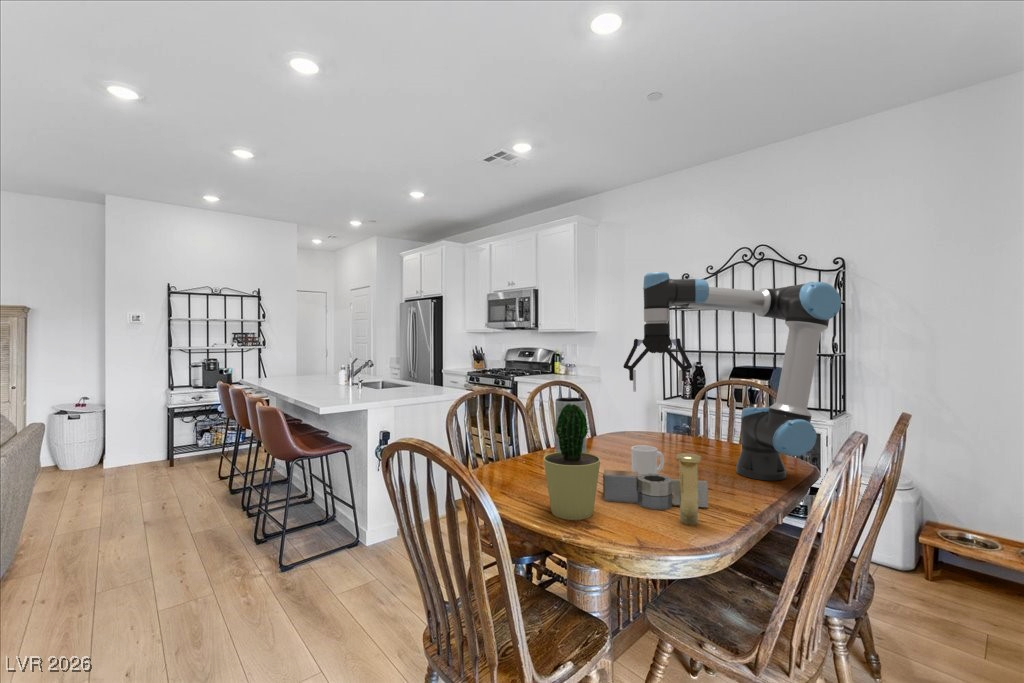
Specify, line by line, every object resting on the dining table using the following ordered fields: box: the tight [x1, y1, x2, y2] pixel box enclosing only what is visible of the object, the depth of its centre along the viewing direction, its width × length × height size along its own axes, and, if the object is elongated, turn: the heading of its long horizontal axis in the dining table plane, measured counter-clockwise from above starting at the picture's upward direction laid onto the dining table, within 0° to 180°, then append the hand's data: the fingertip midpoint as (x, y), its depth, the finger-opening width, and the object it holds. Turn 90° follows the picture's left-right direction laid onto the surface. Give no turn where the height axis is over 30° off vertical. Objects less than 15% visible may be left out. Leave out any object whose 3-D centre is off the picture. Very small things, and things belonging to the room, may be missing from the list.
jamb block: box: [602, 469, 638, 500], centre depth 141 cm, size 10×5×7 cm, turn 75°
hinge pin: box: [675, 452, 702, 527], centre depth 122 cm, size 6×6×17 cm
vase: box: [554, 397, 587, 453], centre depth 158 cm, size 10×10×27 cm
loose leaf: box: [638, 473, 709, 509], centre depth 135 cm, size 19×9×7 cm, turn 75°
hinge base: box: [604, 475, 673, 511], centre depth 137 cm, size 19×9×7 cm, turn 75°
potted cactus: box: [543, 403, 601, 521], centre depth 130 cm, size 15×15×30 cm
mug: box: [631, 444, 665, 476], centre depth 160 cm, size 12×8×10 cm
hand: (657, 391), depth 147 cm, fingers open, 13 cm apart
